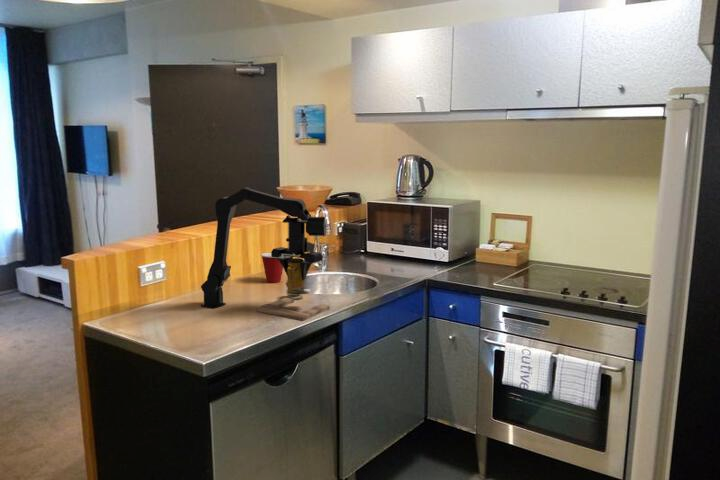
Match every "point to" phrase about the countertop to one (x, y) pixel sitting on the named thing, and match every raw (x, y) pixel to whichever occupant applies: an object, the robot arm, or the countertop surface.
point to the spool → (295, 296)
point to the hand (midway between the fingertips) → (296, 278)
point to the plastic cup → (272, 268)
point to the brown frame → (276, 310)
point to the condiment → (296, 278)
